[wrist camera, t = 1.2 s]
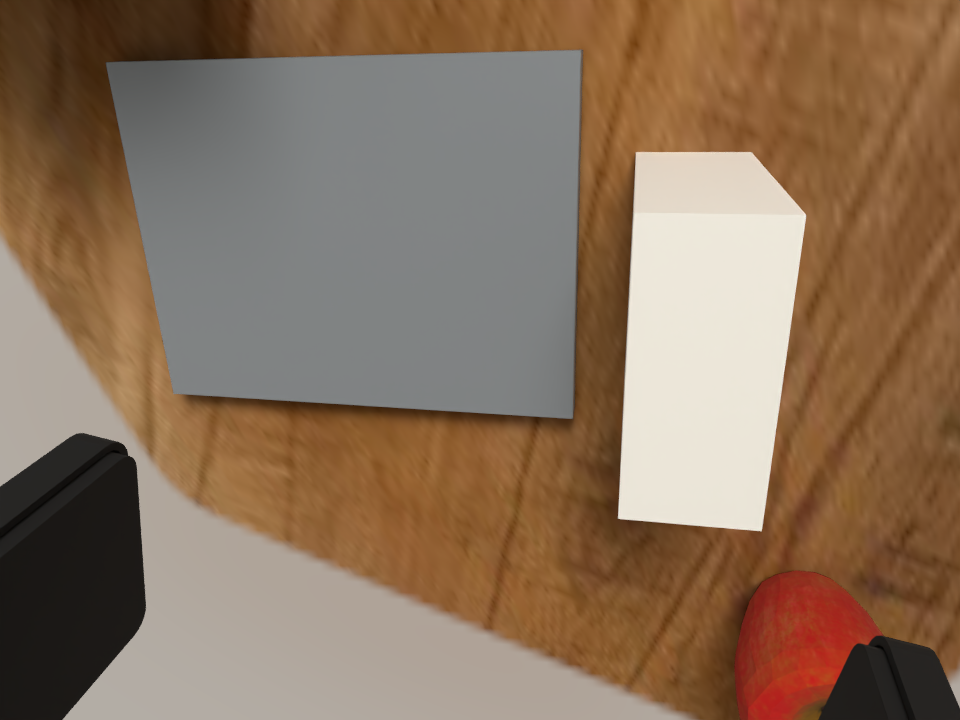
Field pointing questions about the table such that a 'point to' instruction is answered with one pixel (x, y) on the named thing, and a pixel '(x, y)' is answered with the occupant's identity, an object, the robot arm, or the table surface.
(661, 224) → the slab
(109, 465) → the robot arm
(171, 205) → the board
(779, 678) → the apple
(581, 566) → the table surface
